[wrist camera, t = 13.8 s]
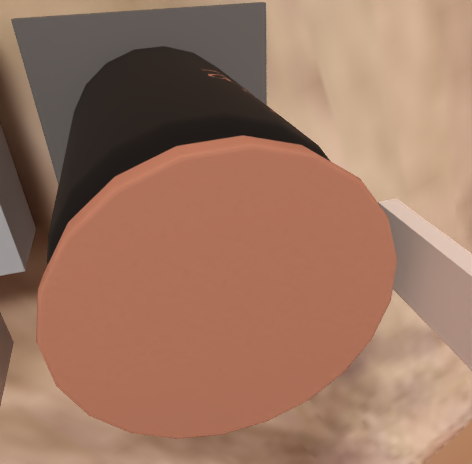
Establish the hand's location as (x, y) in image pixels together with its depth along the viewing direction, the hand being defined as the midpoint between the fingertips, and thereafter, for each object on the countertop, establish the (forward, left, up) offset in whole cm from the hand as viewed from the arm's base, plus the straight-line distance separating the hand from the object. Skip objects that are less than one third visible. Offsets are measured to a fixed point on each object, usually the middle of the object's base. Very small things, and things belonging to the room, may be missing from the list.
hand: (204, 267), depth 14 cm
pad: (0, 0, -16) cm, 16 cm away
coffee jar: (0, 0, -16) cm, 16 cm away
